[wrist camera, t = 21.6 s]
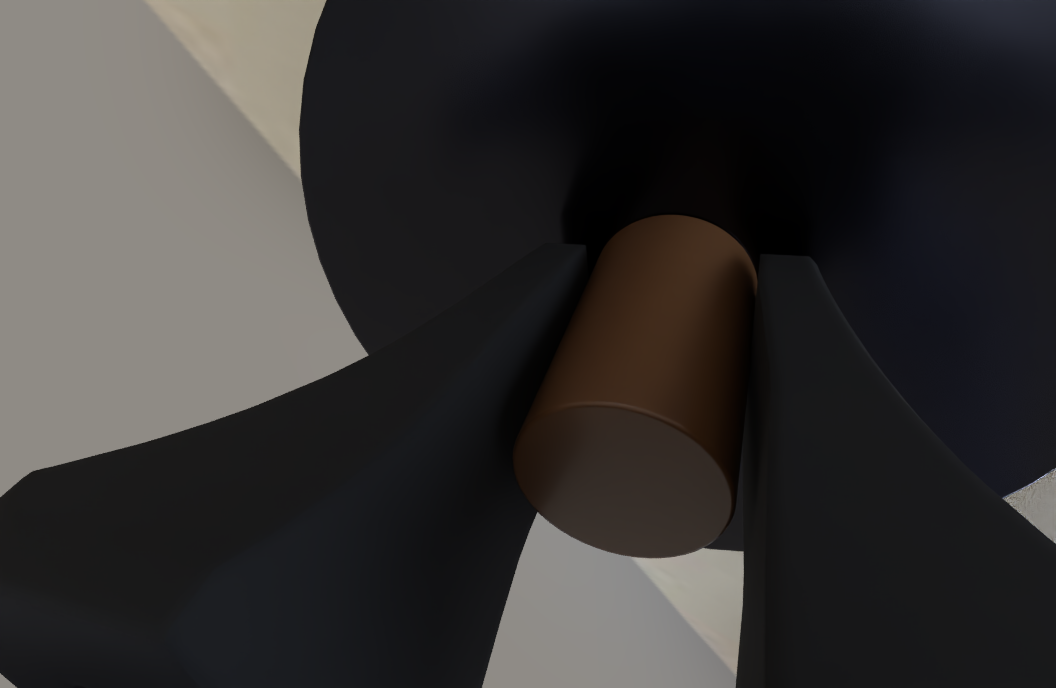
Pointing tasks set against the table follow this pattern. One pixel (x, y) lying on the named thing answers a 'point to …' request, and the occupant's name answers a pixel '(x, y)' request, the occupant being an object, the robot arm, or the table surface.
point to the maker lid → (701, 217)
